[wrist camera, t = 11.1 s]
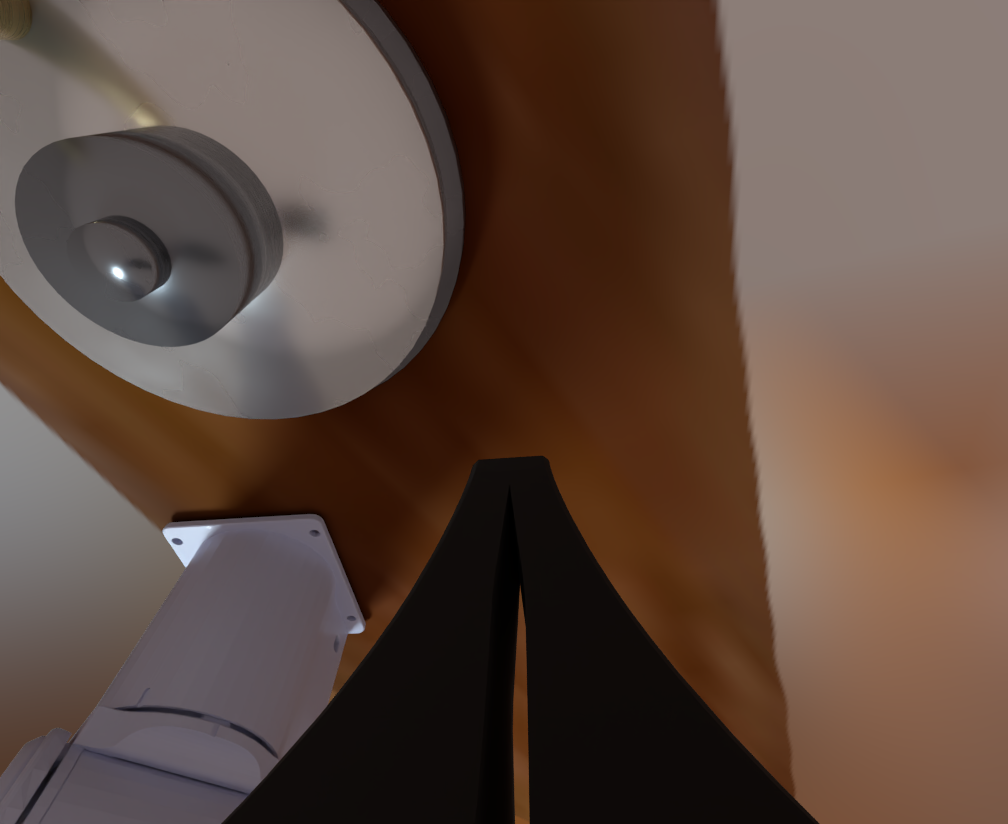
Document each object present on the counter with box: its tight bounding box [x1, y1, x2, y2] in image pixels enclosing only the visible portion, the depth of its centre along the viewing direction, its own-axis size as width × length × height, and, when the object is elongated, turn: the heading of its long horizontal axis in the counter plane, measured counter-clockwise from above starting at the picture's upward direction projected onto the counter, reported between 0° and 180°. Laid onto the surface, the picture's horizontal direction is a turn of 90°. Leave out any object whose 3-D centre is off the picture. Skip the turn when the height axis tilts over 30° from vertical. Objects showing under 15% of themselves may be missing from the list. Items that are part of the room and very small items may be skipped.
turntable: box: [0, 0, 447, 419], centre depth 14 cm, size 14×14×5 cm
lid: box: [15, 125, 284, 347], centre depth 13 cm, size 5×5×4 cm
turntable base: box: [345, 0, 466, 389], centre depth 16 cm, size 15×15×1 cm
